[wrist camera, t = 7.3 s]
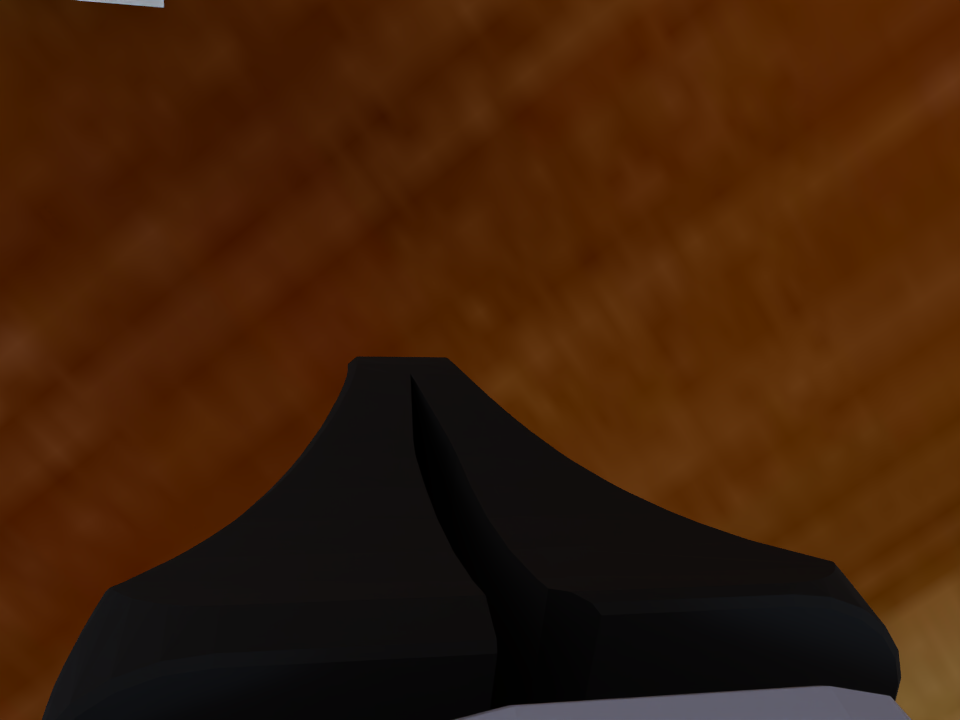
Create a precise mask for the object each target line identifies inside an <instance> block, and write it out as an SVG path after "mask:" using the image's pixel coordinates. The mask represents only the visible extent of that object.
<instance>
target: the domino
mask: <svg viewBox="0 0 960 720" xmlns="http://www.w3.org/2000/svg"><path fill="white" fill-rule="evenodd" d="M79 1H91V2H103V3H115V4H127V5H139V6H151V7H163V8H164V0H79Z"/></svg>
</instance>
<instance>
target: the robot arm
mask: <svg viewBox="0 0 960 720" xmlns="http://www.w3.org/2000/svg"><path fill="white" fill-rule="evenodd" d="M900 680H901V672H900V662H899V652H898V649H897V647H896V645H895V643H894V641H893V640H892V638H891V636H890V634H889V632H888V630H887V629H886V627H885V625H884V624H883V623H882V622H881V620H880V619H879V618H878V617H877V615H876V614H875V613H874V612H873V610H872V609H871V608H870V607H869V605H868V604H867V603H866V602H865V600H864V599H863V598H862V597H861V595H860V594H859V593H858V592H857V590H856V589H855V588H854V586H853V585H852V584H851V583H850V581H849V580H848V579H847V578H846V576H845V575H844V574H843V573H842V572H841V570H840V569H839V568H838V567H837V566H836V565H835V563H834V562H832V561H828V560H824V559H820V558H816V557H812V556H809V555H805V554H801V553H797V552H793V551H789V550H785V549H782V548H778V547H774V546H770V545H766V544H762V543H758V542H755V541H751V540H748V539H745V538H741V537H739V536H736V535H733V534H730V533H727V532H724V531H721V530H718V529H715V528H712V527H709V526H707V525H704V524H701V523H698V522H695V521H693V520H690V519H688V518H685V517H683V516H680V515H678V514H675V513H673V512H670V511H668V510H666V509H663V508H661V507H659V506H657V505H655V504H653V503H650V502H648V501H646V500H644V499H642V498H639V497H637V496H635V495H633V494H631V493H629V492H627V491H625V490H623V489H621V488H619V487H617V486H615V485H613V484H611V483H609V482H608V481H606V480H604V479H602V478H601V477H599V476H597V475H596V474H594V473H592V472H590V471H589V470H587V469H585V468H584V467H582V466H580V465H579V464H577V463H575V462H574V461H572V460H570V459H569V458H567V457H566V456H564V455H563V454H561V453H560V452H558V451H557V450H555V449H554V448H553V447H551V446H550V445H549V444H547V443H546V442H545V441H543V440H542V439H540V438H539V437H538V436H536V435H535V434H534V433H532V432H531V431H530V430H528V429H527V428H526V427H525V426H523V425H522V424H521V423H520V422H518V421H517V420H516V419H515V418H513V417H512V416H511V415H510V414H509V413H507V412H506V411H505V410H504V409H503V408H502V407H500V406H499V405H498V404H497V403H496V402H495V401H494V400H492V399H491V398H490V397H489V396H488V395H487V394H486V393H485V392H484V391H482V390H481V389H480V388H479V387H478V386H477V385H476V384H475V383H474V382H473V381H472V380H471V379H470V378H468V377H467V376H466V375H465V374H464V373H463V372H462V371H461V370H460V369H459V368H458V367H457V366H456V365H455V364H453V363H452V362H451V361H450V360H449V359H448V358H436V357H356V358H355V359H354V360H352V361H351V362H350V363H349V364H348V373H347V377H346V380H345V383H344V386H343V388H342V390H341V392H340V395H339V397H338V399H337V401H336V402H335V404H334V406H333V408H332V410H331V411H330V413H329V415H328V417H327V419H326V420H325V422H324V424H323V425H322V427H321V428H320V430H319V431H318V432H317V434H316V435H315V437H314V438H313V439H312V441H311V442H310V444H309V445H308V446H307V448H306V449H305V451H304V452H303V453H302V455H301V456H300V457H299V458H298V460H297V461H296V462H295V463H294V464H293V466H292V467H291V468H290V469H289V470H288V471H287V472H286V474H285V475H284V476H283V477H282V478H281V479H280V480H279V481H278V482H277V483H276V484H275V485H274V486H273V487H272V488H271V489H270V490H269V491H268V492H267V493H266V494H265V495H264V496H263V497H262V498H260V499H259V500H258V501H257V502H256V503H255V504H254V505H253V506H251V507H250V508H249V509H248V510H247V511H246V512H245V513H244V514H242V515H241V516H240V517H239V518H237V519H236V520H235V521H233V522H232V523H231V524H229V525H228V526H226V527H225V528H223V529H222V530H220V531H219V532H217V533H216V534H214V535H213V536H211V537H210V538H208V539H206V540H205V541H203V542H201V543H200V544H198V545H196V546H195V547H193V548H191V549H190V550H188V551H186V552H184V553H182V554H181V555H179V556H177V557H175V558H173V559H171V560H169V561H167V562H165V563H163V564H161V565H159V566H157V567H154V568H152V569H150V570H148V571H146V572H144V573H142V574H140V575H138V576H136V577H133V578H131V579H129V580H127V581H125V582H123V583H120V584H118V585H115V586H113V587H111V588H109V589H108V590H107V591H106V592H105V594H104V595H103V597H102V598H101V600H100V602H99V603H98V605H97V606H96V608H95V610H94V612H93V613H92V615H91V617H90V618H89V620H88V622H87V623H86V625H85V627H84V629H83V630H82V632H81V634H80V636H79V638H78V640H77V642H76V643H75V645H74V647H73V649H72V651H71V653H70V655H69V657H68V659H67V661H66V662H65V664H64V666H63V669H62V671H61V673H60V675H59V677H58V679H57V681H56V683H55V686H54V688H53V691H52V693H51V696H50V698H49V701H48V704H47V706H46V709H45V712H44V715H43V718H42V720H911V719H910V717H909V716H908V715H907V714H906V713H905V712H904V711H903V710H902V709H901V707H900V706H899V705H898V704H897V703H896V702H895V700H896V696H897V692H898V688H899V684H900Z"/></svg>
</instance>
